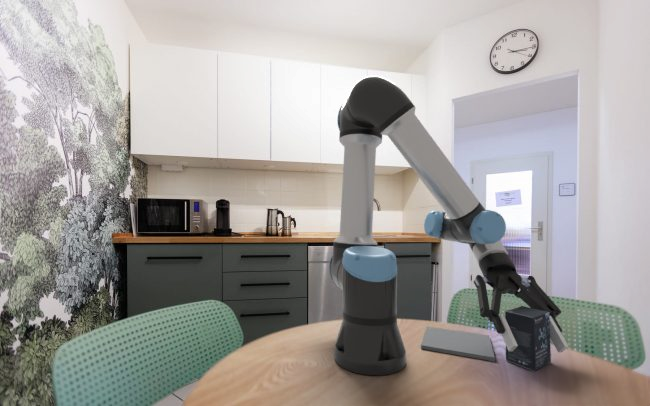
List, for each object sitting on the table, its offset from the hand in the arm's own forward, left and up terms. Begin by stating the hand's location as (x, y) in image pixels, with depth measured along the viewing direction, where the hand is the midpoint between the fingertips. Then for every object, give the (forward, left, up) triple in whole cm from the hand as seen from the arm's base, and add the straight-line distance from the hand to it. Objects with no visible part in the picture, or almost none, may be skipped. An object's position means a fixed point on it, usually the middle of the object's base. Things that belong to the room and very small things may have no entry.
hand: (538, 349), depth 60 cm
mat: (-15, +7, -4) cm, 17 cm away
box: (-1, +3, -4) cm, 5 cm away
